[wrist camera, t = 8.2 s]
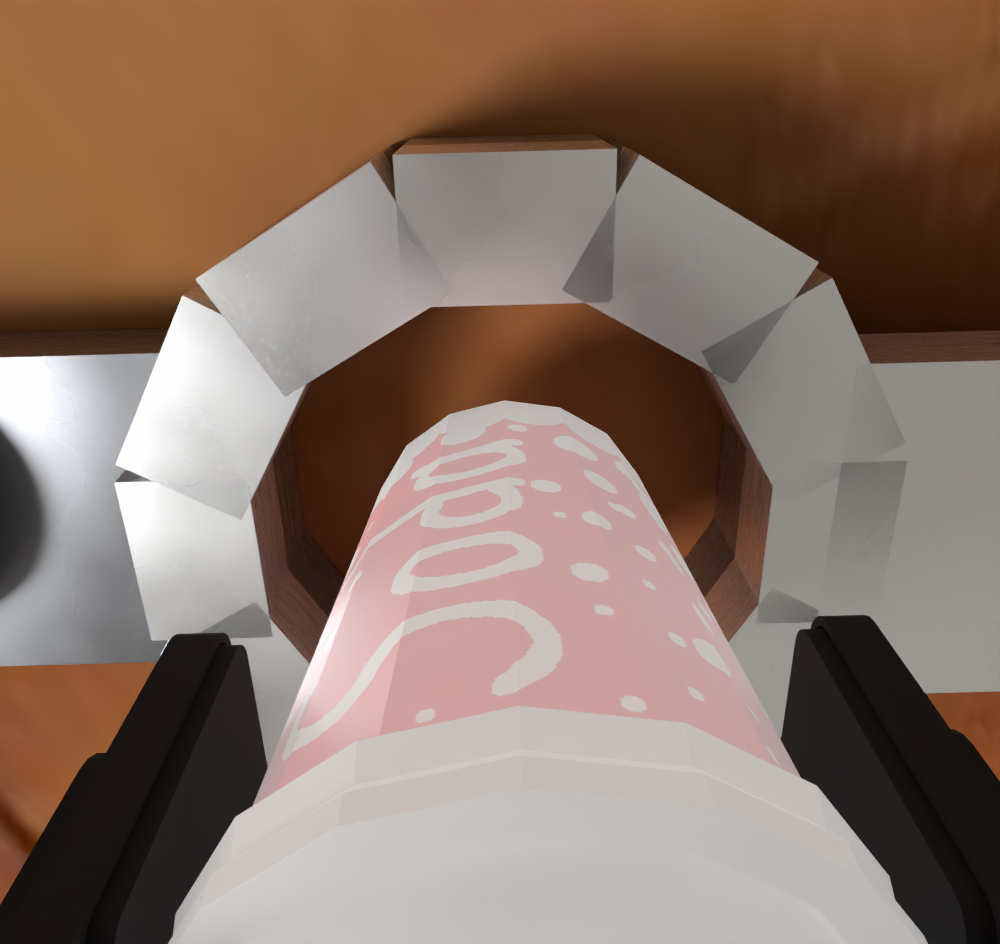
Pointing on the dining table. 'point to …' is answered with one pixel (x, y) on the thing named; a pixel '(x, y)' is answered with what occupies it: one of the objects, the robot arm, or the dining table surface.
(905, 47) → the dining table surface
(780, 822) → the beverage cup
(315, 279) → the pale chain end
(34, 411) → the dark grey ring piece
